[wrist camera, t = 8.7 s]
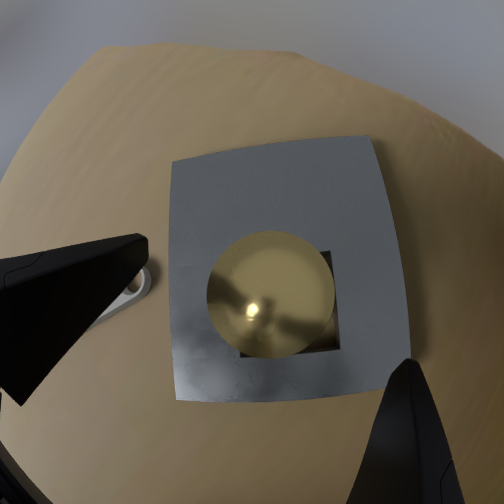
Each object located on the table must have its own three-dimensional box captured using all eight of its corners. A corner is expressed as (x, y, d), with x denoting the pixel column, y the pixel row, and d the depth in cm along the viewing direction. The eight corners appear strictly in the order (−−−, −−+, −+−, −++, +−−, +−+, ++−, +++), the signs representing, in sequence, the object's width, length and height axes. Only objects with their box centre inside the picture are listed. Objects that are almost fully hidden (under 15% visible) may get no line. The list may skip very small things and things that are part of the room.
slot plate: (400, 376, 15) (411, 382, 13) (188, 392, 17) (176, 399, 15) (364, 150, 19) (369, 135, 17) (182, 174, 21) (172, 162, 19)
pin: (326, 319, 17) (357, 320, 7) (274, 346, 17) (239, 378, 7) (299, 269, 18) (295, 209, 8) (249, 295, 18) (188, 266, 8)
